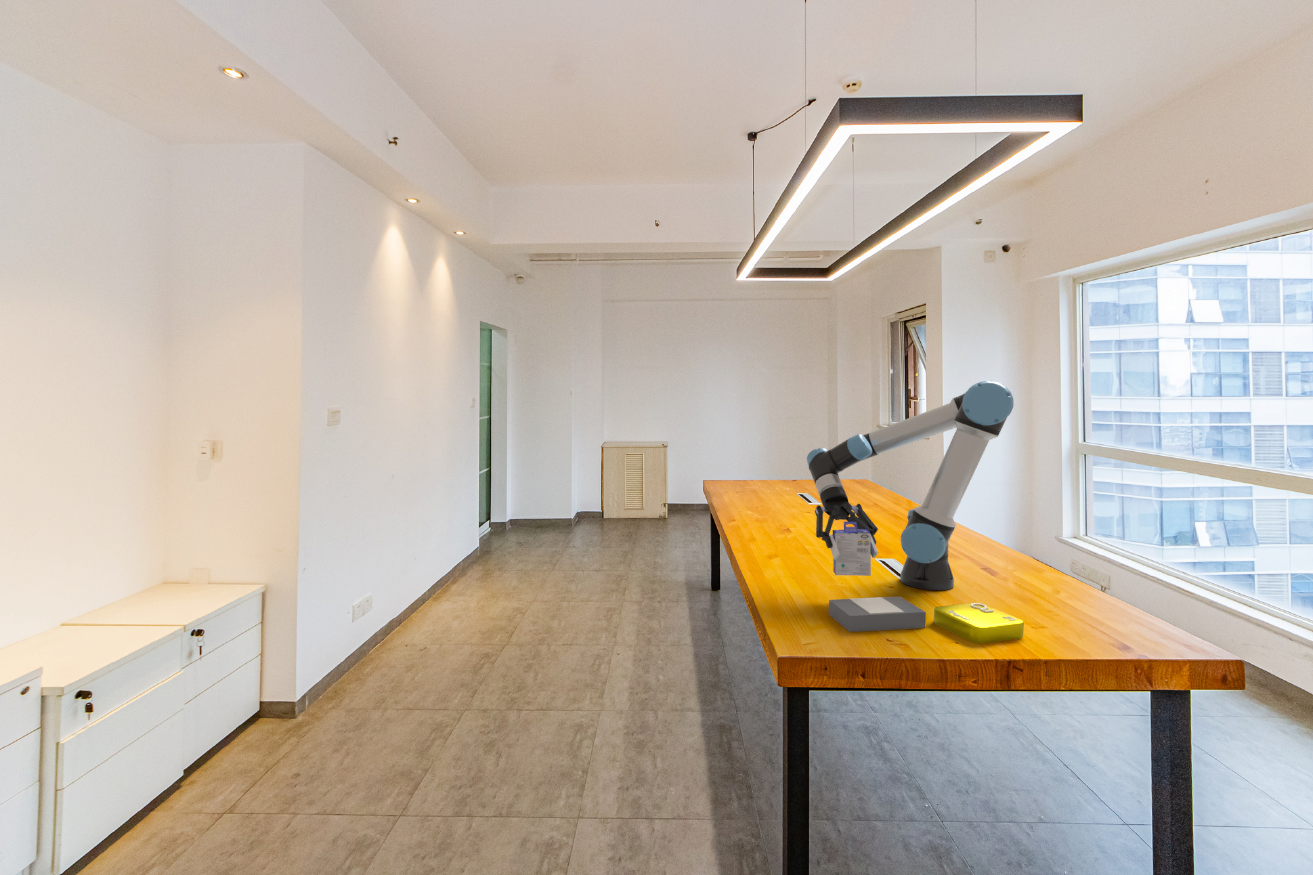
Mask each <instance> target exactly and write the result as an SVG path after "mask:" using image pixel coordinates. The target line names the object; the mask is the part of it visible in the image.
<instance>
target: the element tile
mask: <svg viewBox="0 0 1313 875" xmlns="http://www.w3.org/2000/svg"><path fill="white" fill-rule="evenodd" d="M933 624H934V625H935V626H938V627H940V628H941V629H944V630H946V631H948V632H950V633H952V634H954V635H955V636H958V637H959V638H960V637H961V638H962V639H963V640H966V641H968V642H970V643H974V644H979V645H981V644H982V645H983V644H985V645H986V644H989V643H990V644H991V643H998V642H999V641H1000V642H1005V641H1007V642H1008V641H1012V639H1014V640H1020V639H1019V638H1021V639H1023V638H1024V621H1023V620H1022V618H1021V619H1020V618H1018V617H1015V616H1013V615H1011V614H1008V613H1006V612H1003V611H1001V610H998V609H997V608H993V607H990V606H988V605H986V604H983V603H981V602H968V603H967V602H966V603H957V604H950V605H949V604H948V605H942V606H935V607H934V609H933ZM1022 637H1023V638H1022Z"/></svg>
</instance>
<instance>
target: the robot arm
mask: <svg viewBox="0 0 1313 875" xmlns="http://www.w3.org/2000/svg"><path fill="white" fill-rule="evenodd" d="M1013 408H1014V396H1013V394H1012V392H1011V391H1010V389H1009V388H1008V387H1007V386H1005V385H1004V384H1002V383H1000V382H998V381H992V380H983V381H979V382H977V383H974V384H973V385H971V386H970V387H969V388H968V389H967V390H966V391H965V392H964V393H963V394H960V395H958V396H956V397H953V398H951V401H950V402H949V403H946V404H944V405H941V406H938V407H936V408H932V409H930V410H926V411H924V412H922V413H919V414H917V415H915V416H911V417H909V418H906V419H903V420H901V421H898V422H895V423H892V424H890V425H887V426H885V427H882V428H879V429H876V430H873V431H871V432H868V433H865V434H862V433H857V434H855V435H854V436H851V437H849V438H848V439H846V440H844V441H842V442H841V443H839V444H838V445H836V446H834V447H833V448H830V449H829V450H828V449H827V448H825V447H819V448H817V449H816V448H814V449H812V450H811V451H810V452H809V453H808V454H807V456H806V462H807V465H808V470H809V471H810V472H809V473H810V474H811V477H812V479H813V482H814V484H815V488H816V491H817V493H818V496H819V498H820V499H819V500H820V501H821V504H822V506H821V505H820V504H819V505H816V507H815V510H814V514H815V516H816V520H815V521H816V524H815V525H816V526H815V527H816V528H815V536H816V538H817V539H819V538H821V540H822V541H824V542H825V546H826V547H827V549H830V552H831V554H832V559H833V558H834V560H837V559H838V557H839V555H840V554H839V551H838V548H837V545H836V543H835V540H834V537H833V534H830V533H831V530H832V527H833V524H834V521H840V520H841V521H845V520H846V522H857V528H858V530H859V529H866V530H868V531H869V532H870V533H871V551H870V553H871V558H872V559H874V558H876V557H877V556H878V553H879V552H878V549H877V548H878V547H877V546H876V545H877V540H876V538H875V535H876V534H877V533H878V530H879V528H878V527H877V526H876V524H875V523H874V522H873V521H872V519H871V518H870V517H869V516H868V515H867V513H866V512H865V511H864V509H863V507H862V505H861V503H857V504H856V505H852V504H851V503H850V502H849V498H848V494H846V490H845V489H844V485H843V482H842V481H841V478H840V476H839V473H841V472H843V471H844V470H846V469H848V468H850V467H853V466H854V465H855V464H858V463H860V462H862V461H866V460H868V459H870V458H873V457H877V456H878V455H881V454H884V453H887V452H889V451H893V450H896V449H898V448H901V447H904V446H908V445H909V444H910V445H911V444H913V443H917V442H919V441H922V440H924V439H927V438H930V437H933V436H936V435H939V434H941V433H944V432H947V431H951V430H953V429H956V430H955V432H954V434H953V436H952V439H951V441H950V442H949V446H948V448H947V449H946V452H945V454H944V456H943V459H942V461H941V462H940V465H939V467H938V469H937V472H936V474H935V476H934V478H933V480H932V483H931V485H930V487H929V489H928V492H927V493H926V496H925V498H924V499H923V500H924V501H923V502H922V504H921V505H920V506H919V505H918V506H916V507H914V509H909V510H908V514H907V516H906V517H907V524H906V526H905V527H904V528H905V529H904V530H902V532H901V534H900V545H901V549H902V551H903V552H904V554H905V555H906V559H905V561H904V563H903V567H902V569H901V572H900V582H901V583H903V584H904V585H906V586H909V587H911V588H916V589H921V590H930V591H945V590H946V591H947V590H951V589H953V588H954V586H955V579H954V575H953V573H952V569H951V565H950V562H949V542H950V539H951V536H952V535H953V533H954V531H955V528H956V522H955V520H954V516H955V514H956V512H957V510H958V508H959V505H960V504H961V502H962V500H963V497H964V495H965V492H966V491H967V489H968V486H969V485H970V482H971V480H972V479H973V476H974V474H975V471H976V469H977V467H978V465H979V463H980V462H981V458H982V457H983V455H984V453H985V450H986V448H987V446H988V444H989V442H990V440H993V439H996V438H998V437H999V435H1000V433H1001V431H1002V429H1003V427H1004V425H1005V423H1006V420H1007V419H1008V417H1009V416H1010V414H1011V413H1012V412H1013ZM824 513H825V514H826V515H827V516H828V518H827V519H828V520H827V523H826V527H825V529H824V531H823V528H824ZM853 527H855V525H853Z"/></svg>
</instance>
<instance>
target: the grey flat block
mask: <svg viewBox="0 0 1313 875" xmlns="http://www.w3.org/2000/svg"><path fill="white" fill-rule="evenodd" d="M926 613H927V612H926V611H925V610H923V609H921V608H919V606H916V605H914V604H913V603H911V602H910V601H908V600H907V599H904V598H903V597H902V596H884V597H883V596H882V597H881V596H878V597H877V596H876V597H861V598H859V597H858V598H839V599H837V598H836V599H829V600H828V616H830V617H831V618H832V619H833V620H834V621H836V622H837V623H838V624H839V625H841V627H843V628H844V629H846V630H847V631H848V632H849V633H854V632H855V633H857V632H873V631H876V632H877V631H890V630H891V631H893V630H906V629H907V630H909V629H912V630H913V629H925V628H926V624H927V623H926V620H927V619H926V618H927V617H926V616H927V614H926Z"/></svg>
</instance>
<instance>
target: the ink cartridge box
mask: <svg viewBox="0 0 1313 875" xmlns="http://www.w3.org/2000/svg"><path fill="white" fill-rule="evenodd" d="M847 525H853V526H847ZM854 525H855V526H854ZM832 535H833V537H834V540H835V543H836V545H837V548H838V551H839V554H840V555H839V557H838V559H837V560H834V558H833V557H832V559H833V561H832V563H833V564H832V565H833V569H832V570H833V571H832V572H833V574H834V575H835V576H863V577H864V576H871V575H872V569H871V568H872V567H871V566H872V563H871V562H872V561H871V560H872V559H871V558H872V556H871V553H870V551H871V533H870V532H869V531H868V530H866V529H858V528H857V522H848V521H843V529H832Z"/></svg>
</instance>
